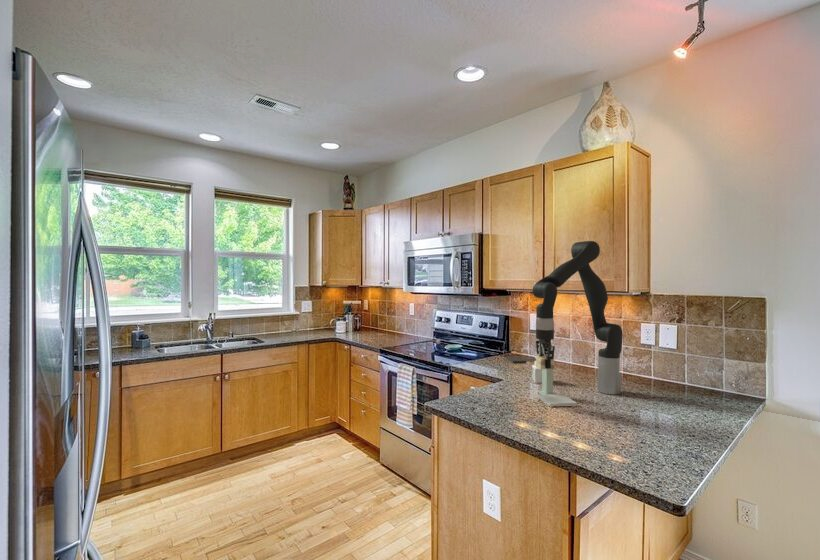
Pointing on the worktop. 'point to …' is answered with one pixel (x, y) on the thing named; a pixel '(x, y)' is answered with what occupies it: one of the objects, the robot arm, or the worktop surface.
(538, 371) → the container
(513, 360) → the press lever
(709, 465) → the worktop surface
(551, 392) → the press frame
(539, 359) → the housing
